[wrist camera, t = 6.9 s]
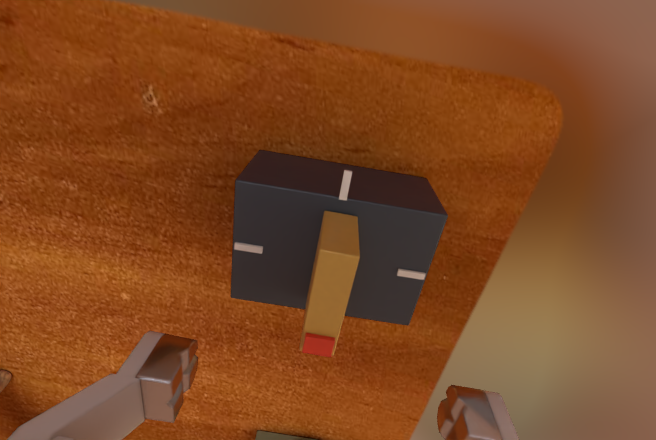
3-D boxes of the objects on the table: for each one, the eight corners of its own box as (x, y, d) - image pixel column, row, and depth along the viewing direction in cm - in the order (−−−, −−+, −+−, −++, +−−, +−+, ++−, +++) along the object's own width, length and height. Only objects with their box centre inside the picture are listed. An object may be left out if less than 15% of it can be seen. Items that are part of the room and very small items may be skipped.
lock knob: (324, 209, 16) (318, 252, 13) (358, 215, 16) (360, 260, 13) (306, 299, 19) (298, 355, 16) (335, 305, 19) (333, 361, 16)
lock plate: (433, 155, 20) (459, 190, 16) (392, 288, 25) (403, 345, 20) (260, 126, 20) (234, 152, 15) (250, 265, 24) (228, 318, 20)
